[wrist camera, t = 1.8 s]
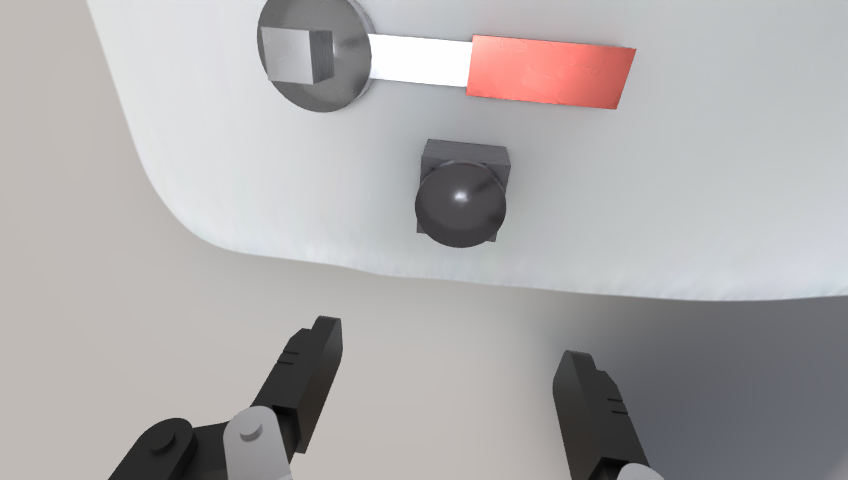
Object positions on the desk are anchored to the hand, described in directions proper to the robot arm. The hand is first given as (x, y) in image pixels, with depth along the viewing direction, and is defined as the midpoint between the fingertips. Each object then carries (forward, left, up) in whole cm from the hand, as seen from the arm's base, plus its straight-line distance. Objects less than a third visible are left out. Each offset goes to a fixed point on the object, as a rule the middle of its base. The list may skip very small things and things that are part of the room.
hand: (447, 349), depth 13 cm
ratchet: (+2, -8, -17) cm, 19 cm away
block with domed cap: (0, 0, -17) cm, 17 cm away
